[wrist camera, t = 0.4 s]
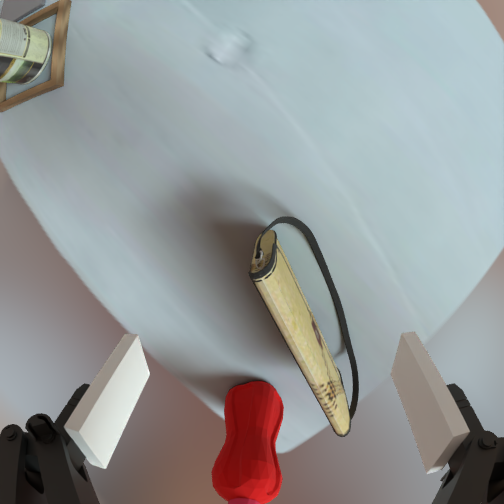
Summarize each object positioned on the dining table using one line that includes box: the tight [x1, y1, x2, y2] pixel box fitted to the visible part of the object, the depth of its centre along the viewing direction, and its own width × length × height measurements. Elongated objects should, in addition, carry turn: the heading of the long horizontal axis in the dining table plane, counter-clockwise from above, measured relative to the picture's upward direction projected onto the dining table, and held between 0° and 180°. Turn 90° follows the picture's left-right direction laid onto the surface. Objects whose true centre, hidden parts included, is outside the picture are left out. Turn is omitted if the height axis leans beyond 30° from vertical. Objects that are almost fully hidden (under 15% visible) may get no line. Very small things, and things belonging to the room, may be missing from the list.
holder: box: [0, 0, 71, 112], centre depth 32 cm, size 16×16×2 cm
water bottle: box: [212, 381, 284, 504], centre depth 40 cm, size 9×11×25 cm
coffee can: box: [0, 18, 52, 84], centre depth 26 cm, size 10×10×14 cm
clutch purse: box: [249, 217, 359, 437], centre depth 37 cm, size 30×7×15 cm, turn 26°
